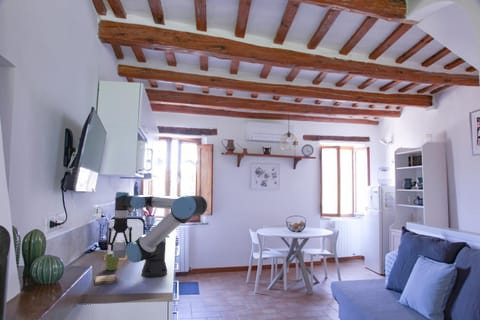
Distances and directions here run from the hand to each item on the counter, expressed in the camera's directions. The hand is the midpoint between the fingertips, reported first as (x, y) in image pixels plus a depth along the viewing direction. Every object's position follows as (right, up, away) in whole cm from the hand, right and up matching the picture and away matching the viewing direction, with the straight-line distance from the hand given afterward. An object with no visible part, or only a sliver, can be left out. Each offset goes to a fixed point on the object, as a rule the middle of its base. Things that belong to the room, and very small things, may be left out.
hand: (119, 255), depth 194 cm
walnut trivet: (-3, -10, -13) cm, 17 cm away
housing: (0, -1, 0) cm, 0 cm away
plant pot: (-9, -12, +11) cm, 19 cm away
